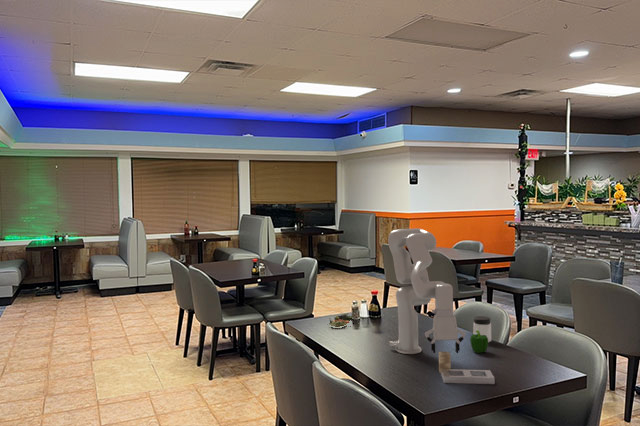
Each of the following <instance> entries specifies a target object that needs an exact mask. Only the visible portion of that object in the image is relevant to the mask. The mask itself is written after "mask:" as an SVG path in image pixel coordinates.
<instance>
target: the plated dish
mask: <svg viewBox="0 0 640 426" xmlns="http://www.w3.org/2000/svg"><path fill="white" fill-rule="evenodd" d="M352 317H353V315H350V314H349V313H348V312H347V313H344V314H341V315H338V314H337V315H336V317H334V319H333V320H332V319H331V317H329V321H330V323H329V325H331V326H335V327H340V326H344V325H346V324H347V323H349V321H350V320H351V321H352ZM359 323H360V322H359ZM359 323H358V324H359ZM329 325H328V326H329Z"/></svg>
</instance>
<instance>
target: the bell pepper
mask: <svg viewBox="0 0 640 426" xmlns="http://www.w3.org/2000/svg"><path fill="white" fill-rule="evenodd" d="M476 332H477V333H478V334H476V335H474V334H473V333H472V334H471V336H470V339H469V340H470V346H471V348H472V351H473V352H474V353H477V354H481V353H486V352H487V350H488V346H489V343H488V338H487V336H486V335H482V336H481V335H480V332H479V331H478V330H476Z"/></svg>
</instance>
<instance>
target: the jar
mask: <svg viewBox="0 0 640 426" xmlns="http://www.w3.org/2000/svg"><path fill="white" fill-rule="evenodd" d="M472 330H473V331H472V332H473V333H472V334H474V335H476V334H478V333H477V332H476V330H478V331H479V332H480V335H481V336H482V335H486V336H487V338H488V344H489V343H490V342H492V322H491V317H488V316H485V315H484V316H482V315H480V316H479V315H478V316H477V315H476V316H474V317H473V329H472Z"/></svg>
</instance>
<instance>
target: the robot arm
mask: <svg viewBox="0 0 640 426" xmlns="http://www.w3.org/2000/svg"><path fill="white" fill-rule="evenodd" d="M387 241H388V247H389V248H388V249H389V250H390V252H391V253H390V254H391V255H392V259H393V266H394V273H395V278H396V281H397V283H398V284H401V285H408V286H401V287H399V288H398V289H397V290H396V293H395V299H396V304H397V317H398V319H397V321H398V324H397V325H398V326H397V327H398V339H397V340H395V341H389V342H388V343H389V346H391V347H392V348H393V347H395V351H396V352H397V353H400V354H404V355H405V354H406V355H415V354H419V353H421V352H422V347H421V346H419V321H418V320H419V317H418V316H419V315H418V312H417V311H416V309H415V308H414V307H417V306H423V305H428V304H429V303H430V302H431V301H432V299H434V307H435V308H434V309H432V310H431V313H432V314H434V315H433V321H432V328H431V329H429V330H427V331H425V332H424V335H425V337H426V339H427V340H428V342H430V346H431V351H432V352H433V354H435V353H436V343H435V342H436V341H455V344H454V345H455V353H456V354H459V352H460V344H461V343H462V341H464V339H465V338H466V332H465V331H463V330H460V329H458V324H457V318H456V315H455V314H454V298H453V297H454V296H453V295H454V291H453V290H454V288H453V285H451V284H450V283H445V281H441V280H436V281H435V280H434V281H431V280H430V279H429V274H428V269H427V268H428V267H430V266H431V264H432V263H433V258H432V256H431V254H430V251H433V250H434V249H436V247H437V238H436V237H435V235H434V234H433V233H432V232H429V231H428V230H424V229H423V228H417V227H416V228H399V229H394V230H392V231H390V232H389V234H388V238H387ZM405 247H407V249H408V250H407V249H406V248H405ZM411 260H412V261H411ZM412 262H413V263H412ZM409 284H411V285H410V286H409ZM431 334H432V336H433V337H432V338H431V336H429V335H431ZM459 334H460V337H458V335H459Z"/></svg>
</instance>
